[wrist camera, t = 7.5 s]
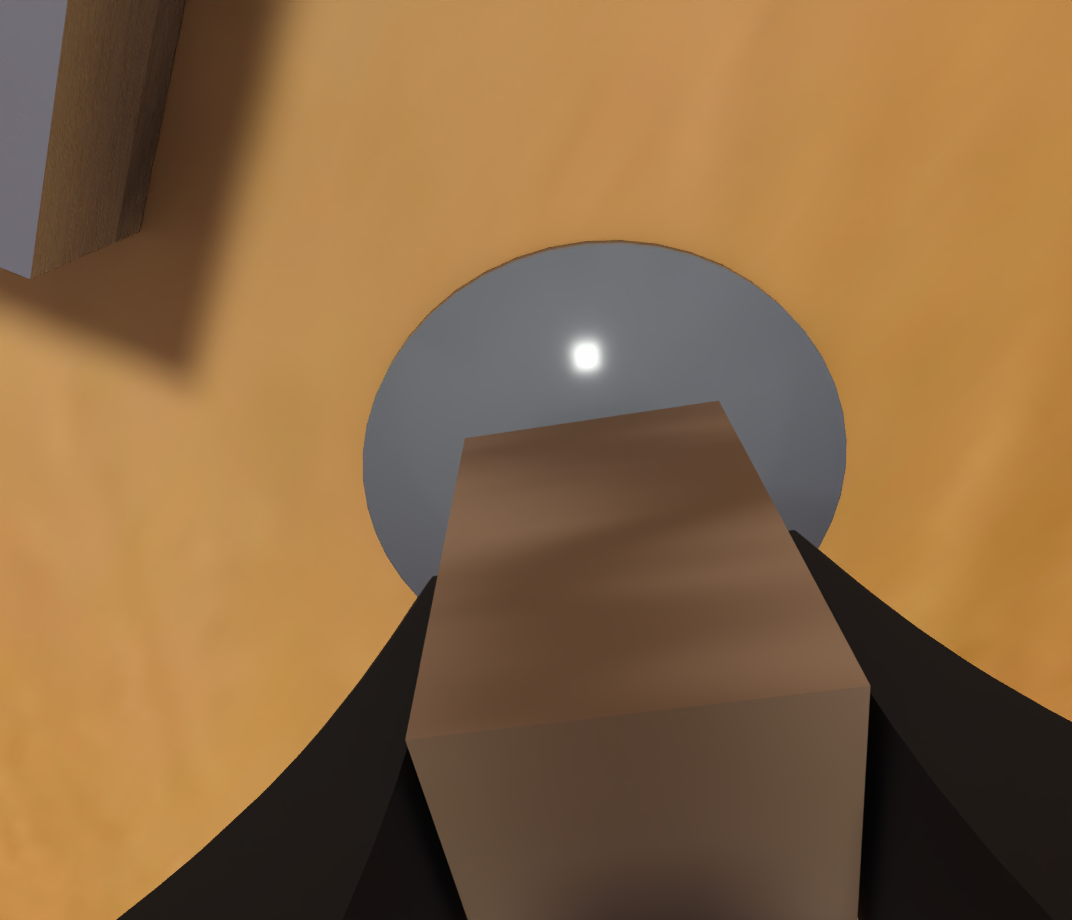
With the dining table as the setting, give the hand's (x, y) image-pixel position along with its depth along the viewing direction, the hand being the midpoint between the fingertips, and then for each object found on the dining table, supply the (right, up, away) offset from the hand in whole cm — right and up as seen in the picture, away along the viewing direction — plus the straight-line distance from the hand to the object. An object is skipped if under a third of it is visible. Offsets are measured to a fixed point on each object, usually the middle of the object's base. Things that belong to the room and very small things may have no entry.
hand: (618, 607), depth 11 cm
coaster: (0, +2, +3) cm, 4 cm away
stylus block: (0, +1, +2) cm, 2 cm away
